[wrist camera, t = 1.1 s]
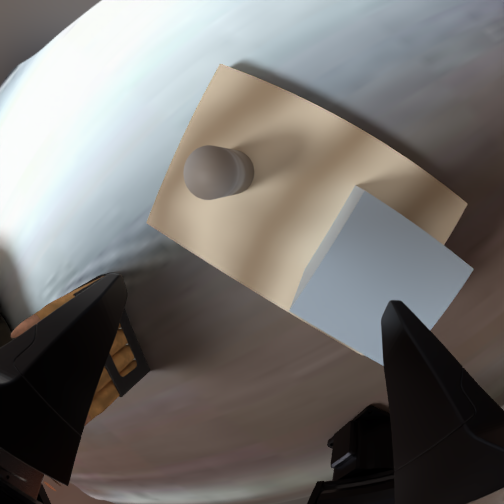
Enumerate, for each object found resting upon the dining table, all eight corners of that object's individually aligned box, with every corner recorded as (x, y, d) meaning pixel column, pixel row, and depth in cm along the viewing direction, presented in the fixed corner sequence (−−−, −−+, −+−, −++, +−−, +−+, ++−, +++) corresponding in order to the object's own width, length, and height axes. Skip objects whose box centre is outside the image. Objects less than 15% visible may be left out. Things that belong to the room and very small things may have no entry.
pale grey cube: (435, 239, 17) (473, 269, 11) (381, 316, 19) (394, 372, 13) (355, 185, 18) (364, 190, 12) (304, 269, 20) (289, 311, 14)
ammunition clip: (99, 275, 27) (1, 324, 16) (111, 272, 26) (10, 324, 15) (137, 370, 29) (65, 440, 18) (150, 370, 28) (78, 445, 17)
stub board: (461, 202, 17) (494, 211, 12) (362, 347, 22) (364, 389, 17) (226, 68, 19) (195, 43, 14) (154, 220, 24) (113, 233, 19)
